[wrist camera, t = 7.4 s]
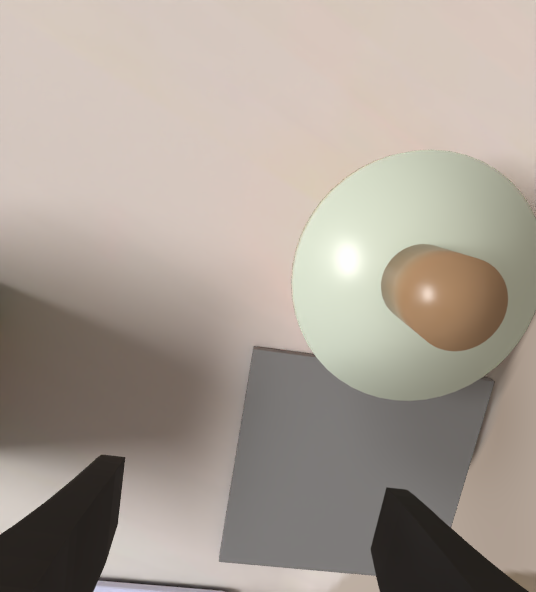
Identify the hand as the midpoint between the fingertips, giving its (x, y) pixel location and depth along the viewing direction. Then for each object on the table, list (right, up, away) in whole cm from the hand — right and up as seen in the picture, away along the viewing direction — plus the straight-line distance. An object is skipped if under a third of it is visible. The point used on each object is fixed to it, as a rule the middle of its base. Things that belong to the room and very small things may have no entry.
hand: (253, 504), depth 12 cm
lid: (+6, +6, +4) cm, 9 cm away
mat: (+5, -3, +11) cm, 13 cm away
